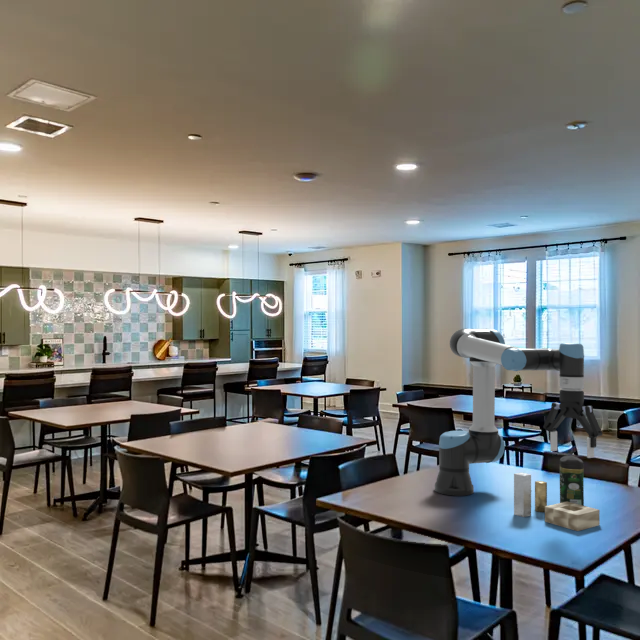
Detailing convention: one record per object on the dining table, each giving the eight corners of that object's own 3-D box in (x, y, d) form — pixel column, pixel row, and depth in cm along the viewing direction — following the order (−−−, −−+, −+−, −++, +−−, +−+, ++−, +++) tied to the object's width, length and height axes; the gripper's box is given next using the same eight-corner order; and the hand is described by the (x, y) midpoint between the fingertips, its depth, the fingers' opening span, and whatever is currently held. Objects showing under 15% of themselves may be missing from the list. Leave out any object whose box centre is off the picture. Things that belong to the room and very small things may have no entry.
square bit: (513, 514, 212) (514, 473, 213) (521, 512, 215) (521, 472, 215) (523, 517, 209) (523, 475, 210) (531, 515, 211) (531, 474, 212)
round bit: (532, 510, 218) (532, 481, 218) (539, 508, 220) (539, 480, 221) (542, 513, 215) (542, 484, 215) (549, 511, 217) (549, 482, 217)
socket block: (544, 521, 204) (544, 506, 205) (566, 516, 211) (566, 501, 211) (577, 531, 194) (577, 515, 195) (599, 525, 201) (599, 509, 201)
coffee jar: (558, 504, 226) (558, 453, 227) (581, 506, 224) (581, 454, 225) (561, 511, 217) (561, 458, 218) (585, 513, 215) (585, 459, 216)
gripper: (532, 387, 212) (532, 449, 212) (600, 393, 192) (600, 461, 191) (546, 386, 217) (546, 447, 216) (613, 392, 196) (614, 459, 195)
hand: (571, 454), depth 203 cm, fingers open, 13 cm apart
